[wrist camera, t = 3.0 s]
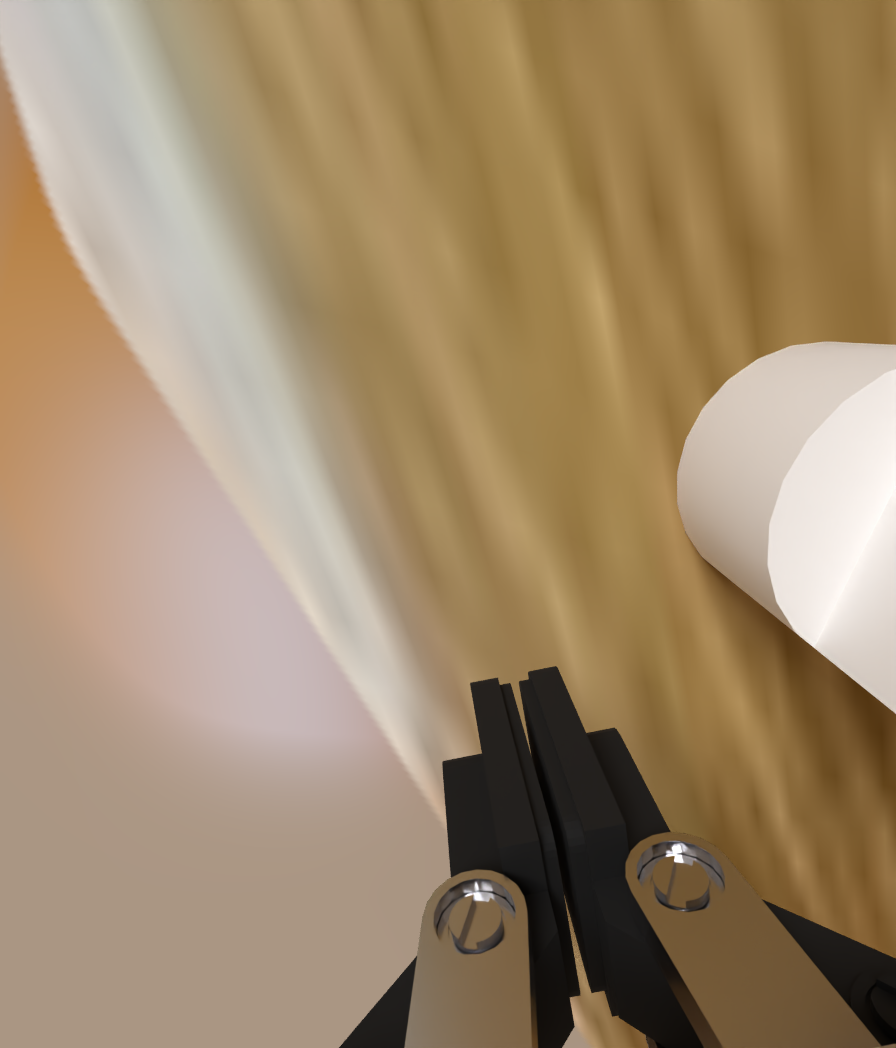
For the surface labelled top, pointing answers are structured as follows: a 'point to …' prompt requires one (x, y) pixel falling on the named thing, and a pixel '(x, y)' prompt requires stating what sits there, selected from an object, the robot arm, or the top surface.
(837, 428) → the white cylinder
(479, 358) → the top surface
